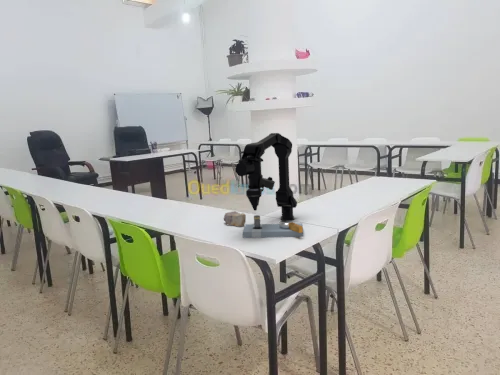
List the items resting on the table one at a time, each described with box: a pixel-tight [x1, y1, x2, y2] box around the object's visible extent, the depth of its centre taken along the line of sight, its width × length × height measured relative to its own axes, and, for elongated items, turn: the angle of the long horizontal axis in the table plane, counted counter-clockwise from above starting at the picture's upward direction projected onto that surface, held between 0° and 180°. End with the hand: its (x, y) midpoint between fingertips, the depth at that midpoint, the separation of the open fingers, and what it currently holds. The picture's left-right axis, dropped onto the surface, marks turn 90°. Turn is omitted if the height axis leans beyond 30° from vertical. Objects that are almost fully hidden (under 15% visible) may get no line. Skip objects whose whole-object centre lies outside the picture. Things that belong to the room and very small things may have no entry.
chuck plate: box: [242, 222, 304, 239], centre depth 173 cm, size 12×26×2 cm, turn 84°
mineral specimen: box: [223, 211, 247, 227], centre depth 190 cm, size 13×7×6 cm, turn 59°
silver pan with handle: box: [278, 219, 304, 233], centre depth 168 cm, size 6×14×3 cm, turn 27°
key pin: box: [253, 214, 261, 229], centre depth 173 cm, size 3×3×8 cm
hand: (256, 207), depth 172 cm, fingers open, 9 cm apart
